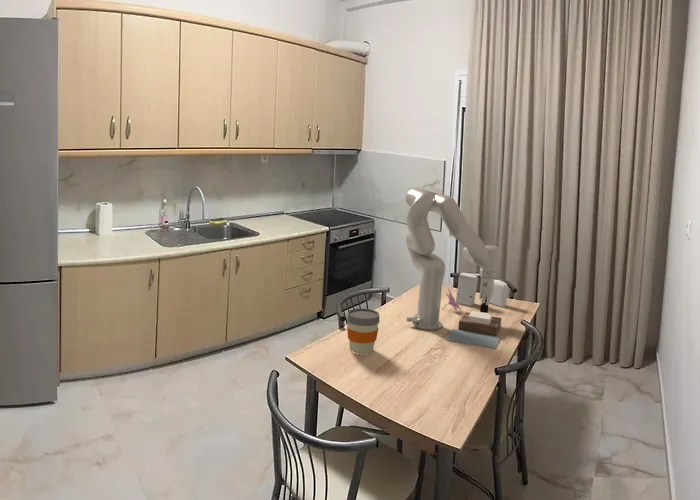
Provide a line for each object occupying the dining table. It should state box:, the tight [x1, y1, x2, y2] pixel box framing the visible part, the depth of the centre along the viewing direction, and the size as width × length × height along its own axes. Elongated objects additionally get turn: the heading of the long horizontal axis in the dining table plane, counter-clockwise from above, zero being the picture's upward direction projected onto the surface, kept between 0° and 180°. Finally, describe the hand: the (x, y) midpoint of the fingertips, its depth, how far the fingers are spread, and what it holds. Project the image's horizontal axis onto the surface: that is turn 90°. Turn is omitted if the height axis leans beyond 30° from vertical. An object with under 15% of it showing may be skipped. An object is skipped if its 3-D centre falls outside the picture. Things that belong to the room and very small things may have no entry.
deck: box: [457, 311, 502, 336], centre depth 264 cm, size 14×16×4 cm
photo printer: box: [488, 279, 509, 308], centre depth 298 cm, size 10×4×12 cm, turn 39°
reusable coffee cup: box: [346, 308, 380, 355], centre depth 231 cm, size 13×13×15 cm
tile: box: [468, 310, 493, 325], centre depth 262 cm, size 8×9×2 cm
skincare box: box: [455, 272, 479, 307], centre depth 297 cm, size 8×6×15 cm
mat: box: [445, 328, 501, 350], centre depth 251 cm, size 14×20×1 cm
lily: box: [442, 287, 461, 313], centre depth 286 cm, size 12×12×10 cm
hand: (483, 312), depth 271 cm, fingers closed
